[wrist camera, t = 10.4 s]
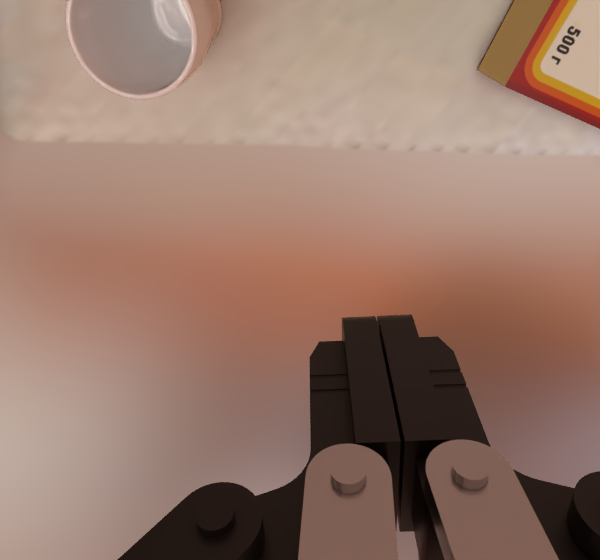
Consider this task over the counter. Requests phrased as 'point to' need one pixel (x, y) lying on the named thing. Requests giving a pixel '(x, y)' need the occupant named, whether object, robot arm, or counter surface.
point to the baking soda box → (550, 55)
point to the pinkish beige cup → (141, 42)
